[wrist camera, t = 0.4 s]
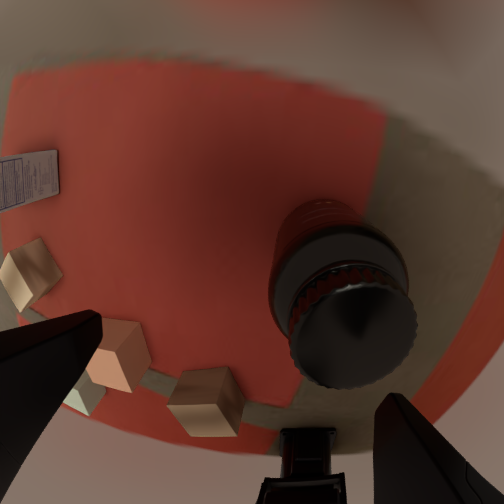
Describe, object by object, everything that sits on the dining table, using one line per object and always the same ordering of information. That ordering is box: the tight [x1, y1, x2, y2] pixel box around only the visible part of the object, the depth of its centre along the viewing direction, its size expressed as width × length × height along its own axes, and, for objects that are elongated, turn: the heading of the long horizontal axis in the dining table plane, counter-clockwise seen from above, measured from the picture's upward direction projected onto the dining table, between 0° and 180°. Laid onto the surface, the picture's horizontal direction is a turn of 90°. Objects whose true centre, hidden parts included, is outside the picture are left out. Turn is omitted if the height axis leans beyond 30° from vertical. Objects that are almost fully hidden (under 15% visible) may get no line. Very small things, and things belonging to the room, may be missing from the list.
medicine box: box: [0, 150, 59, 213], centre depth 18 cm, size 8×4×9 cm, turn 88°
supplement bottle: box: [268, 199, 418, 390], centre depth 14 cm, size 7×7×12 cm
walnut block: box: [167, 367, 245, 437], centre depth 24 cm, size 5×5×5 cm
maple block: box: [0, 237, 63, 313], centre depth 23 cm, size 5×5×5 cm
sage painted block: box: [63, 369, 106, 416], centre depth 27 cm, size 5×5×5 cm
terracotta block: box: [86, 318, 152, 393], centre depth 24 cm, size 5×5×5 cm
